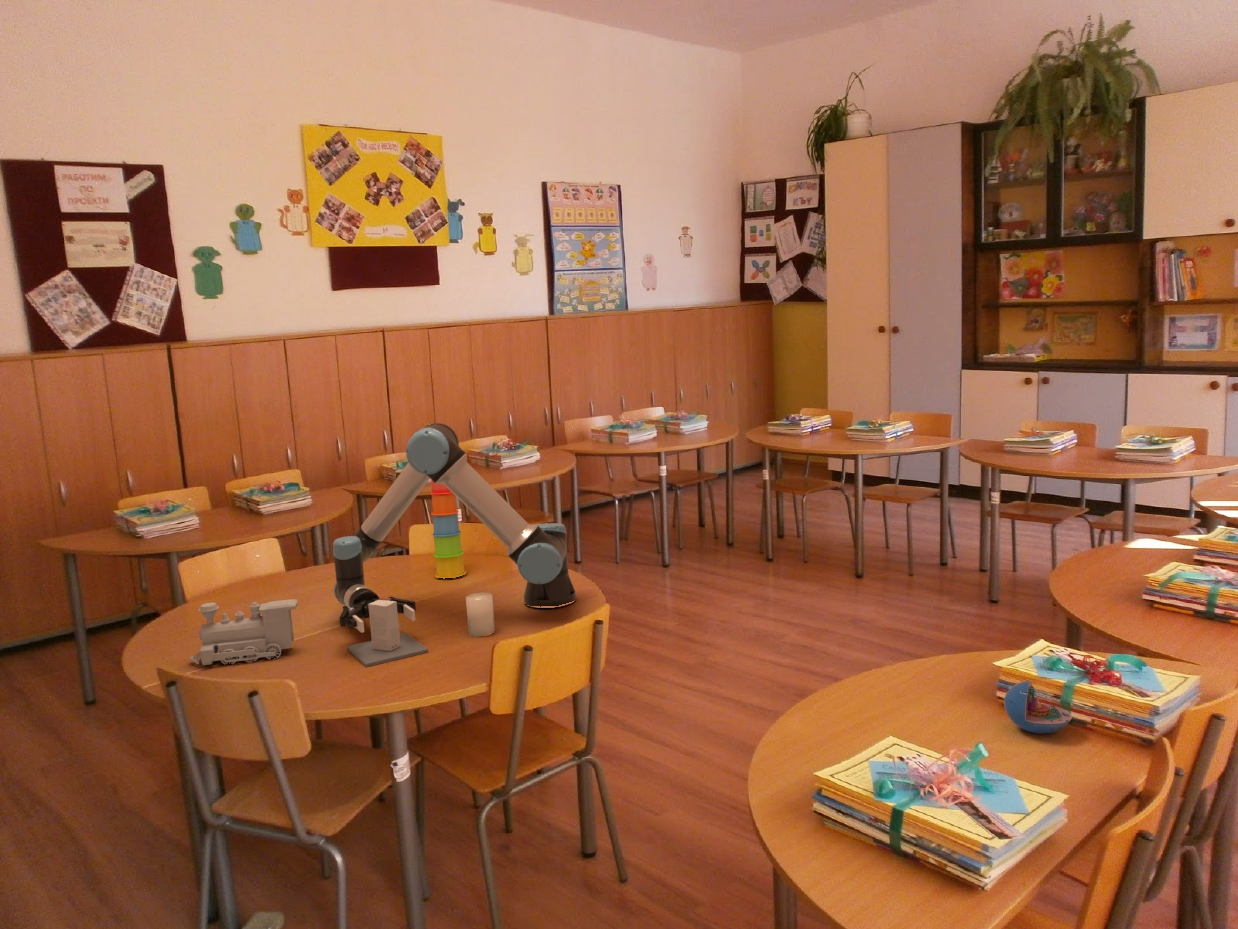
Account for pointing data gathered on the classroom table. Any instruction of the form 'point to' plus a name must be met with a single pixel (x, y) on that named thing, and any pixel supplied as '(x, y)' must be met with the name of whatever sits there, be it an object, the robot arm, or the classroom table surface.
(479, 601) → the white pillar candle
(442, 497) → the stacking cups
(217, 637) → the toy train
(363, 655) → the felt mat
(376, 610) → the skincare box
